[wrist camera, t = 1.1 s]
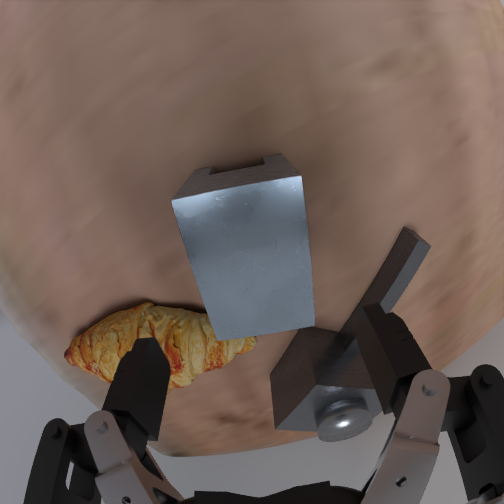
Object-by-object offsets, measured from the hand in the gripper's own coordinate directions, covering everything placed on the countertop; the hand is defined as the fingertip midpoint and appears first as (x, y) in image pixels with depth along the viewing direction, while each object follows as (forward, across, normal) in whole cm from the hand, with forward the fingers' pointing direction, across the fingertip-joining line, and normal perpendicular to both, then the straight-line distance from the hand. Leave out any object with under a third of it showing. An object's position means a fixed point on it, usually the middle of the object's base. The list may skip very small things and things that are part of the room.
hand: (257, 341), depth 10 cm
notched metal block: (+12, 0, 0) cm, 12 cm away
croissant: (+12, +12, +10) cm, 20 cm away
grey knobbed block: (+12, -8, +11) cm, 18 cm away
